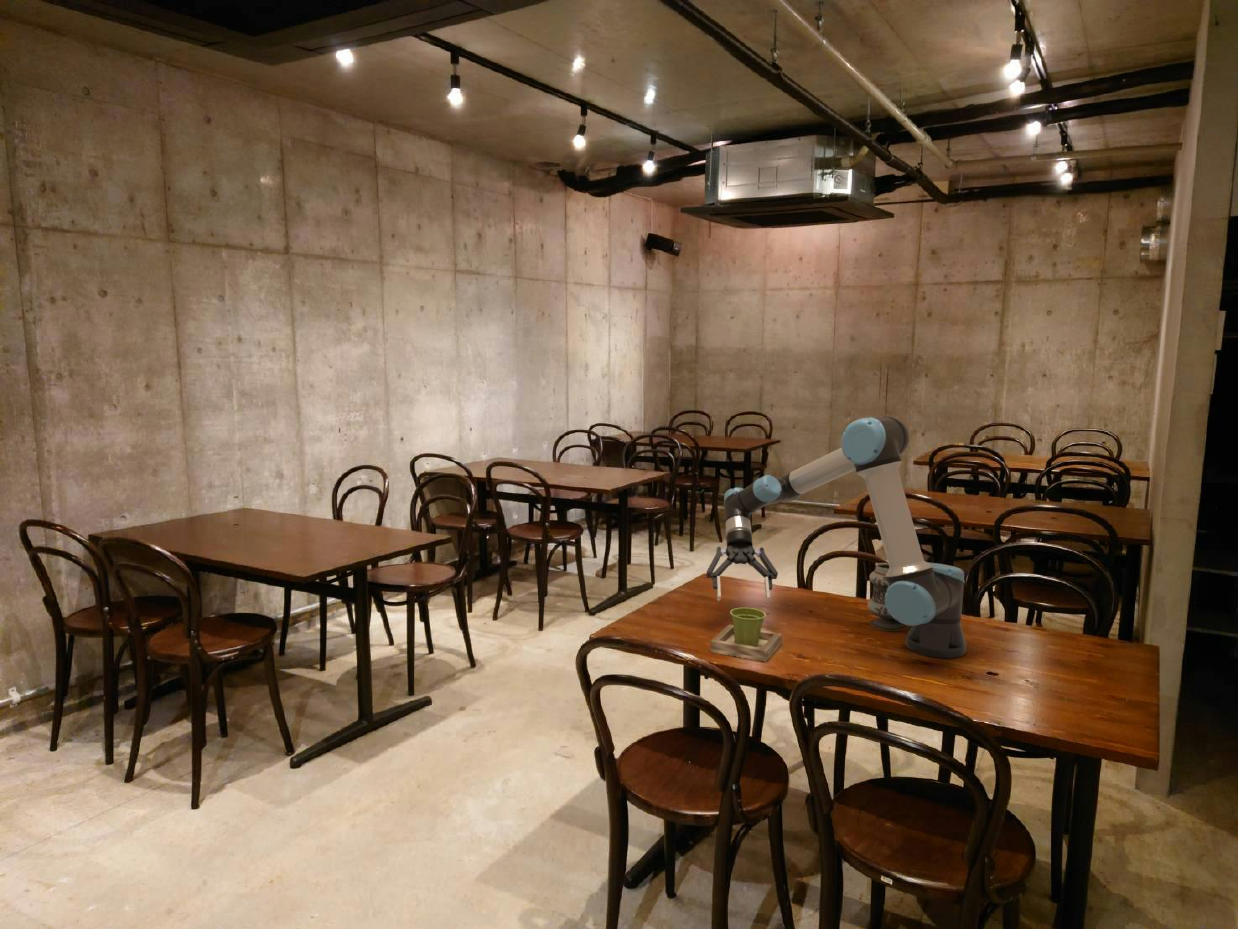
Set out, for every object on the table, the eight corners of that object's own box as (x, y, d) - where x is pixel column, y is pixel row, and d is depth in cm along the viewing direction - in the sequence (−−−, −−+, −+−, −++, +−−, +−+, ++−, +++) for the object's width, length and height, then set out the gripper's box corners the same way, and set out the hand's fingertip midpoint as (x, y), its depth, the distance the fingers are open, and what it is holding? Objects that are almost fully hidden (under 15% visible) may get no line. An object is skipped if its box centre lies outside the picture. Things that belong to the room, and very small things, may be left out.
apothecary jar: (901, 619, 234) (905, 561, 232) (915, 633, 222) (920, 572, 220) (861, 618, 235) (864, 560, 232) (873, 632, 223) (877, 571, 220)
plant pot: (762, 639, 213) (764, 608, 212) (766, 651, 203) (767, 619, 202) (728, 637, 214) (729, 606, 212) (729, 649, 204) (731, 617, 203)
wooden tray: (781, 644, 212) (781, 633, 211) (765, 662, 199) (766, 651, 198) (728, 634, 218) (729, 624, 218) (710, 652, 205) (710, 641, 205)
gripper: (779, 542, 234) (786, 606, 221) (696, 541, 235) (698, 604, 222) (782, 528, 228) (790, 593, 215) (697, 527, 229) (699, 591, 216)
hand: (743, 599), depth 219 cm, fingers open, 13 cm apart
